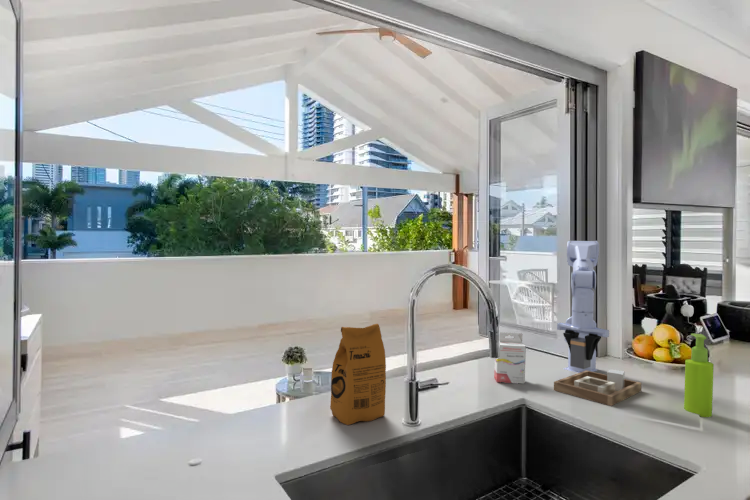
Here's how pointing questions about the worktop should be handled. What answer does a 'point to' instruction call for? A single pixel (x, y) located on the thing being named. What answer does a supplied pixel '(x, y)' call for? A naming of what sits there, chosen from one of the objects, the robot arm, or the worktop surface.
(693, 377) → the soap dispenser
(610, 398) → the walled box
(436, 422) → the worktop surface
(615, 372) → the grey plug
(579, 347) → the dark grey tall block
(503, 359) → the ink cartridge box
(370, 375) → the coffee package
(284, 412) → the worktop surface
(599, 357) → the worktop surface
